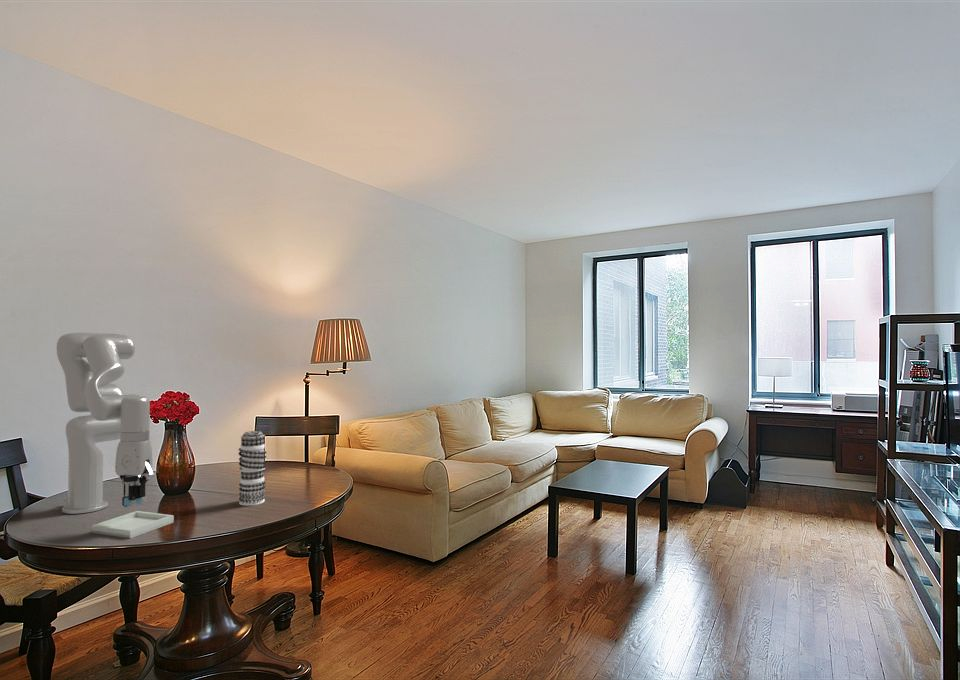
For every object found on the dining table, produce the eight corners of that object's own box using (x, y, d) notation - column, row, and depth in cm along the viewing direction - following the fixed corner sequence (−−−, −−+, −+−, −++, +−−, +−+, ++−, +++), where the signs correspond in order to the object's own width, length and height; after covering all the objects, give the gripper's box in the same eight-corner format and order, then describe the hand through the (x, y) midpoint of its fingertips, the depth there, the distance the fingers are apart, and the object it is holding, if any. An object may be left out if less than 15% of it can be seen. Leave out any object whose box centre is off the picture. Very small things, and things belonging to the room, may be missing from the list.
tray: (91, 532, 161) (91, 525, 161) (136, 517, 175) (137, 510, 175) (130, 538, 156) (130, 530, 156) (173, 522, 171) (173, 515, 171)
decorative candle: (233, 502, 193) (234, 431, 193) (259, 497, 200) (260, 429, 200) (243, 507, 187) (244, 434, 187) (270, 502, 193) (271, 432, 194)
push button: (144, 500, 170) (143, 468, 170) (150, 503, 166) (150, 470, 166) (119, 505, 165) (119, 472, 165) (125, 508, 161) (125, 474, 161)
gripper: (102, 437, 165) (102, 498, 165) (145, 440, 160) (144, 502, 160) (125, 434, 172) (125, 492, 172) (166, 436, 167) (166, 496, 167)
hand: (134, 496), depth 166 cm, fingers closed on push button, 3 cm apart
